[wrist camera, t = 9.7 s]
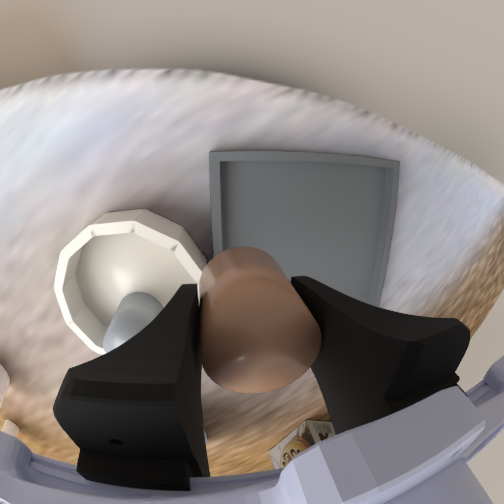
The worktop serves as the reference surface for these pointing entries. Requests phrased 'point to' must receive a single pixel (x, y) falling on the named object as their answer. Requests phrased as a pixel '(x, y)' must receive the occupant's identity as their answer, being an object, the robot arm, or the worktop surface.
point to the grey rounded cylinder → (131, 318)
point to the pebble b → (253, 323)
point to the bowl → (122, 268)
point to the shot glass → (3, 384)
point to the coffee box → (300, 441)
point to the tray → (308, 214)
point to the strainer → (10, 428)
